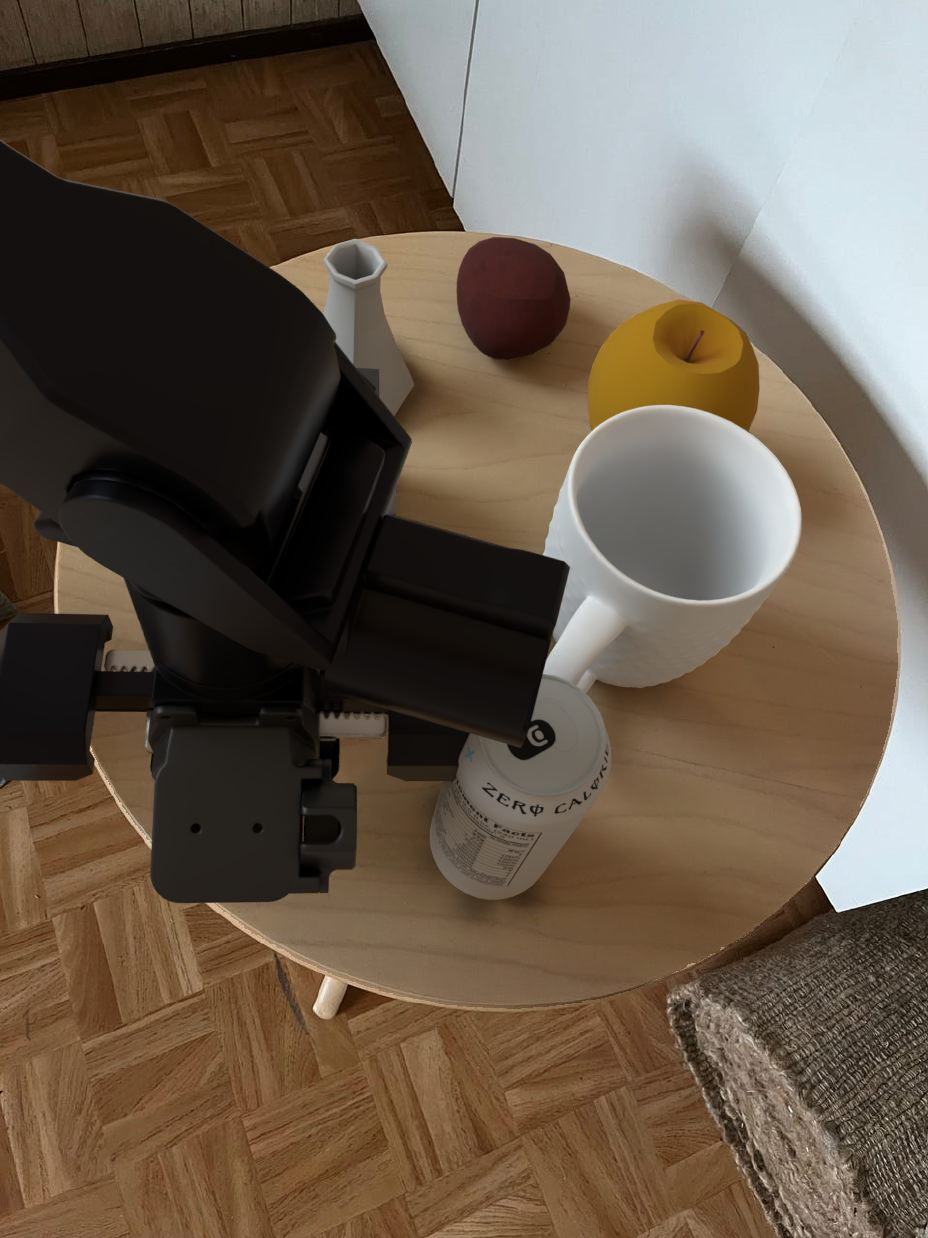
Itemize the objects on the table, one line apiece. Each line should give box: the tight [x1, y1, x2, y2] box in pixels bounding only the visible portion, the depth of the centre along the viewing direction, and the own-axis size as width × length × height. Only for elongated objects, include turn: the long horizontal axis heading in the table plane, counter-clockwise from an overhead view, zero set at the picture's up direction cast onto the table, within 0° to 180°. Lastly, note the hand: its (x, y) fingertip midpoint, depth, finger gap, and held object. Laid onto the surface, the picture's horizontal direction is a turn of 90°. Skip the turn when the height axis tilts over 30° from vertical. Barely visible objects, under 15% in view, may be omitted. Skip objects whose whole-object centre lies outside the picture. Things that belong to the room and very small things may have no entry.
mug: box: [542, 405, 803, 694], centre depth 51 cm, size 15×11×13 cm
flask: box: [322, 238, 415, 417], centre depth 59 cm, size 7×7×10 cm
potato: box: [455, 236, 572, 361], centre depth 64 cm, size 7×8×6 cm
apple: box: [587, 299, 760, 432], centre depth 58 cm, size 10×10×12 cm
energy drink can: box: [429, 674, 612, 901], centre depth 44 cm, size 6×6×15 cm
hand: (259, 769), depth 47 cm, fingers closed, pressing on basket
